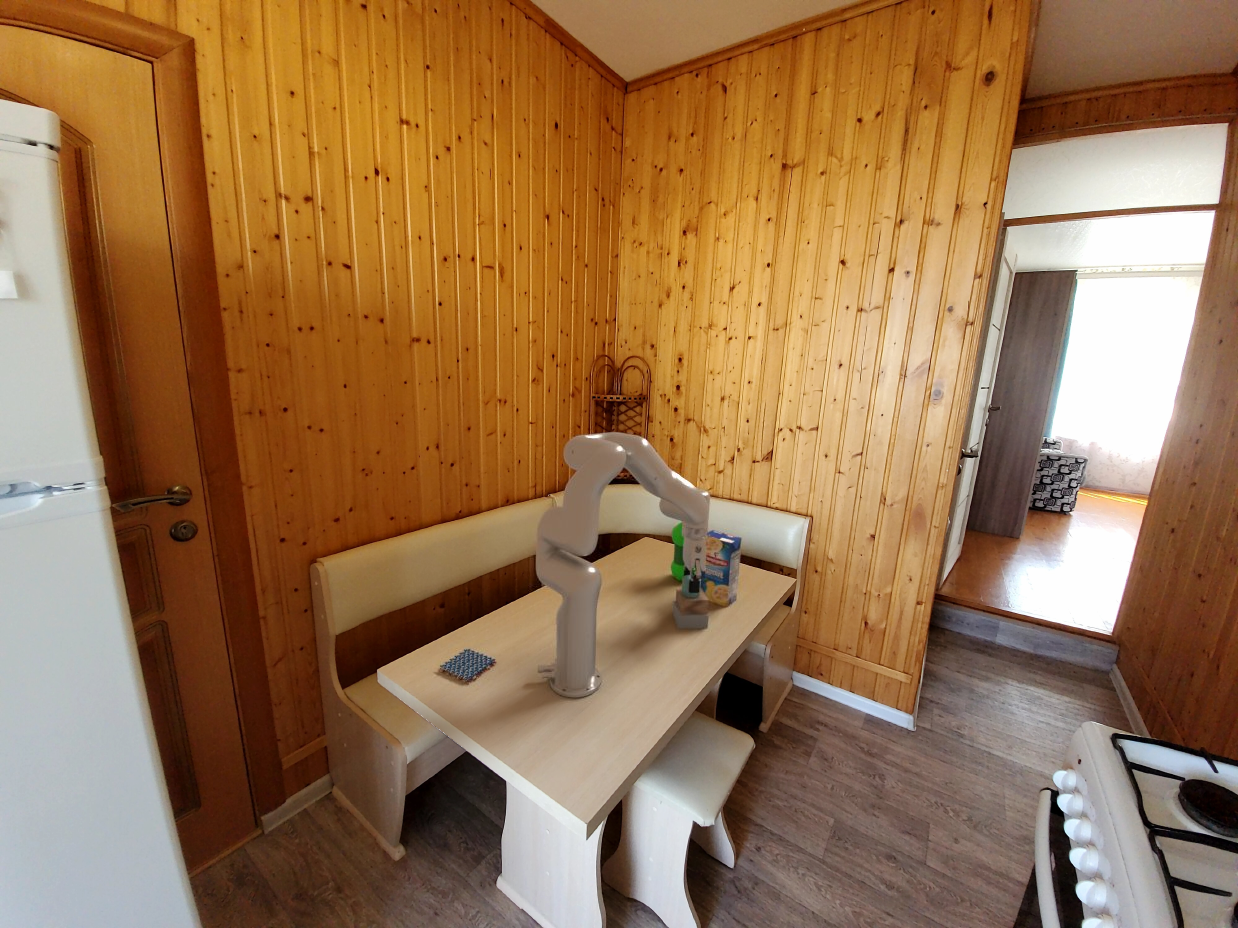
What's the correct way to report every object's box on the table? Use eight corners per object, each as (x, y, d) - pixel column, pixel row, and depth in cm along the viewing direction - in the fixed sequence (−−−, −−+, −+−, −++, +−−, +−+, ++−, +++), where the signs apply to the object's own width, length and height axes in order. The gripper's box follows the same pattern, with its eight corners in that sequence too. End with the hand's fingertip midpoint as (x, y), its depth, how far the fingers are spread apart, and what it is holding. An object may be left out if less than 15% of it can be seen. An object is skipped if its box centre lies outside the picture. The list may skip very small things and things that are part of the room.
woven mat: (469, 687, 118) (468, 679, 118) (437, 673, 123) (437, 666, 123) (498, 665, 127) (498, 657, 127) (468, 652, 132) (468, 646, 132)
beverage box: (726, 607, 161) (732, 543, 156) (697, 596, 168) (701, 534, 163) (736, 600, 166) (741, 537, 161) (708, 589, 173) (712, 530, 168)
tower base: (677, 629, 147) (678, 615, 146) (672, 614, 156) (673, 601, 155) (707, 629, 148) (708, 615, 147) (700, 614, 157) (701, 600, 156)
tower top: (681, 614, 147) (682, 600, 146) (675, 601, 154) (676, 588, 154) (707, 613, 148) (708, 599, 147) (700, 601, 155) (701, 587, 154)
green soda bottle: (664, 573, 185) (668, 509, 180) (690, 571, 188) (694, 508, 183) (675, 585, 175) (679, 518, 170) (702, 582, 178) (707, 516, 173)
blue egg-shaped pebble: (683, 598, 147) (684, 583, 146) (679, 590, 152) (680, 575, 151) (701, 598, 148) (702, 582, 146) (697, 589, 153) (698, 574, 152)
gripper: (715, 541, 138) (711, 600, 142) (699, 521, 155) (696, 575, 158) (689, 541, 137) (685, 600, 141) (676, 521, 154) (673, 575, 158)
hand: (691, 586), depth 150 cm, fingers open, 6 cm apart
